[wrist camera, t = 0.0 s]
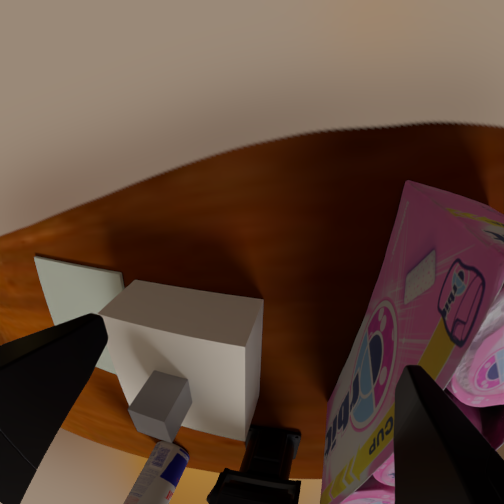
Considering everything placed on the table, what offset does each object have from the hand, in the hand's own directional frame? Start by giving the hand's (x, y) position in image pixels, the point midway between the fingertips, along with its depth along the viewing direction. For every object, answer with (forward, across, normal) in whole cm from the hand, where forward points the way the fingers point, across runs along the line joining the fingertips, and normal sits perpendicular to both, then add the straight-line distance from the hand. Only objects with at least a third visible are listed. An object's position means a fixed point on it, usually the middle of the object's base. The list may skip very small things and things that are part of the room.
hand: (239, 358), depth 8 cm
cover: (+15, +8, +13) cm, 21 cm away
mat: (+15, +22, +14) cm, 30 cm away
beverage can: (+15, +15, +38) cm, 44 cm away
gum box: (+15, -10, +8) cm, 20 cm away
